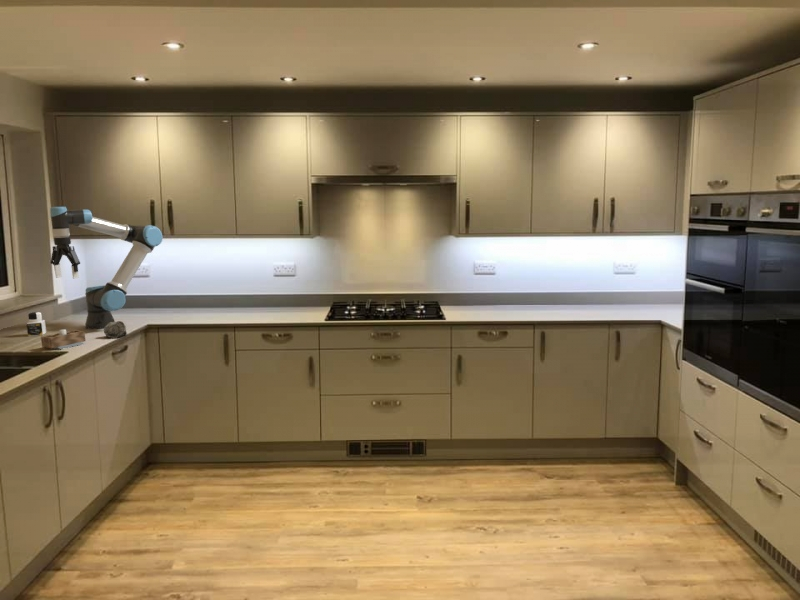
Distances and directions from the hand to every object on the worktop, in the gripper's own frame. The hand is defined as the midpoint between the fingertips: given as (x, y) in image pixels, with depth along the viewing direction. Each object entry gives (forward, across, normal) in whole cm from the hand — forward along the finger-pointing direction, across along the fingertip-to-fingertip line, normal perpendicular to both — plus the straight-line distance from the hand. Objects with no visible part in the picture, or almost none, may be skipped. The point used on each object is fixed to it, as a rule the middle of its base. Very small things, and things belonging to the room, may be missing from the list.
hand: (67, 277), depth 317 cm
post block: (+30, -18, +19) cm, 40 cm away
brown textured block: (+29, -18, +19) cm, 39 cm away
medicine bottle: (+31, +22, +6) cm, 38 cm away
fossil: (+31, -24, -6) cm, 40 cm away
